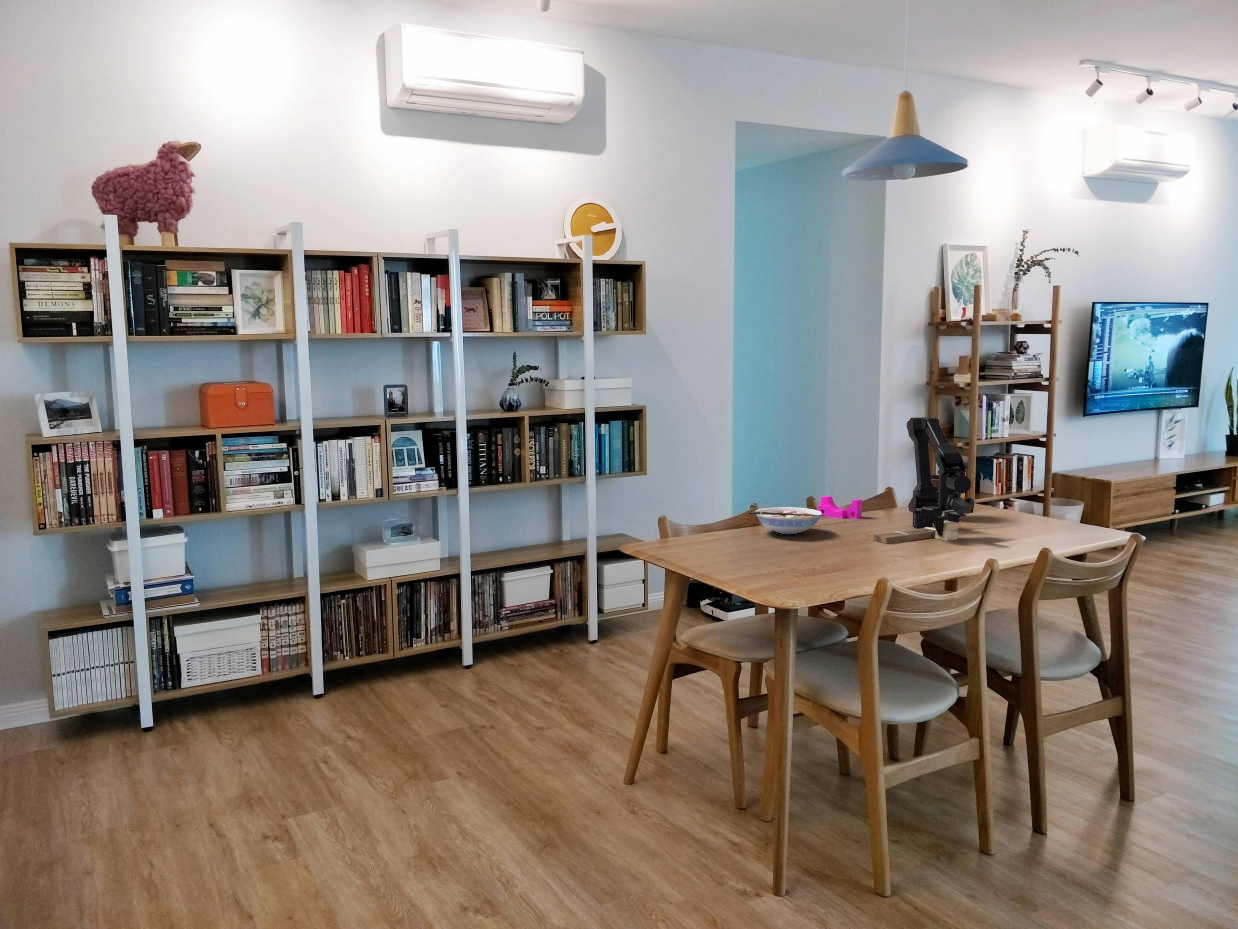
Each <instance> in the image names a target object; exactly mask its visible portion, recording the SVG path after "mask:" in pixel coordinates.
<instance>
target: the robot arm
mask: <svg viewBox="0 0 1238 929" xmlns="http://www.w3.org/2000/svg"><path fill="white" fill-rule="evenodd" d="M906 429H907V432H908V437H909V439H910V440H911V441H912V442H913V446H914V459H915V460H914V461H915V474H916V485H915V487H914V489H913V491H912V497H911V500H909V503H908V506H907V508H908V511H909V512H911V513H912V526H913V527H914V528H913V529H915V528H916V529H921V528H925V527H935V528H936V530H937V533H938V535H939V536H942V535H943V526H944V521H946V520H945V519H946V518H947V517H944V513H947V516H948V520H947V521H951V522H956V523H958V524H959V523H960V521H961V519H963V518H964V517H966V516H967V514H973V513H974V510H975V499H974V498H972V497H967V498H962V497H961V496H960V493H961V494H966V493H967V492H968V491H969V490H970V489H971V487H972V481H971V479H970V477H968V476H967V475H966V474H967V466H966V463H965V462H964V458H963V456H962V454H961V452H960V451H959V449H958V448H957V447H956V446H953V445H952V444H951V443H950V442H949V440H948V438H947V437H946V434H945V433H944V431H943V429H942V427H941V425H940V420H939V418H938V417H928V416H927V417H926V416H925V417H923V416H922V417H911V418H909V420H907V422H906ZM929 442H930V443H931V444H932V446H933V448H934V450H935V453H936V454H935V457H934V459H935V463H936V465H937V468H938V471H937V475H939V491H938V489H937V487H934V485H933V484H932V482H931V475H932V473H931V472H932V470H931V459H930V448H929V447H930V446H929ZM938 495H939V497H938ZM949 509H950V510H949Z"/></svg>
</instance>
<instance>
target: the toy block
mask: <svg viewBox="0 0 1238 929" xmlns="http://www.w3.org/2000/svg"><path fill="white" fill-rule="evenodd" d="M821 504H822V505H821ZM862 509H863V499H862V498H856V499H855V498H854V499H852V500H851V504H850V505H849V507H847V509H842V508H840V507H838V506H837V504H835V502H834V498H833V496H831V495H823V496H821V497H820V504H818V505H817V509H816V510H817V511H821V513H822V515H824V516H823V517H827V518H836V519H844V518H848V519H856V520H857V519H860V518H862V514H863V513H862V512H863V511H862Z"/></svg>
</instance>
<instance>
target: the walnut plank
mask: <svg viewBox="0 0 1238 929" xmlns="http://www.w3.org/2000/svg"><path fill="white" fill-rule="evenodd" d="M933 530H935V526H933V527H925V528H921V529H915V528H913V529H907V530H899V531H897V530H895V531H893V532H892V531H891V532H883V533H876V534H873V535H872V541H873V542H877V543H881V544H884V545H885V544H886V545H887V544H894V543H903V542H910V541H915V540H923V539H931V538H932V535H933Z"/></svg>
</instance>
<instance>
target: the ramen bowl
mask: <svg viewBox="0 0 1238 929" xmlns="http://www.w3.org/2000/svg"><path fill="white" fill-rule="evenodd" d="M748 514H749V515H756V516H757V518H758V520H759V521H760V523H761V524H762V526H763V527H765V528H767V529H768V530H771V531H773V532H776V533H777V532H778V533H783V534H796V535H798V534H797V533H799V534H800V533H803V532H806V531H808V530H810V529H811V528H813V527H815V526H816V525H817V524H818V522H819V520H820V519H821V517H825V516H824V515H822V513H821V511H817V509H813V508H806V507H794V506H777V507H775V506H774V507H765V508H759V509H756V510H753V511H751V510H749V511H748ZM778 533H777V534H778Z"/></svg>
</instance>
